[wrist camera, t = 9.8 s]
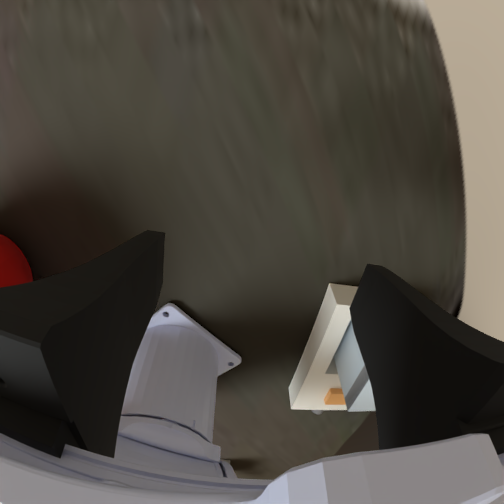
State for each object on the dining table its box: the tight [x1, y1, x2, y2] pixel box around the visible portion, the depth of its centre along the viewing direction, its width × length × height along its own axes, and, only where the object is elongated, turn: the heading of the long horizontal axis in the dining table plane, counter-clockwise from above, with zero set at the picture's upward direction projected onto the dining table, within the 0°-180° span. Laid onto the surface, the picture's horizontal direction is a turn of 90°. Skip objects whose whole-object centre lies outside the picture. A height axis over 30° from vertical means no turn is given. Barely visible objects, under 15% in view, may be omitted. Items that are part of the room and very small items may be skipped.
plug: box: [334, 320, 376, 411], centre depth 22 cm, size 4×3×7 cm, turn 170°
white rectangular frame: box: [289, 283, 358, 414], centre depth 25 cm, size 14×7×3 cm, turn 170°
